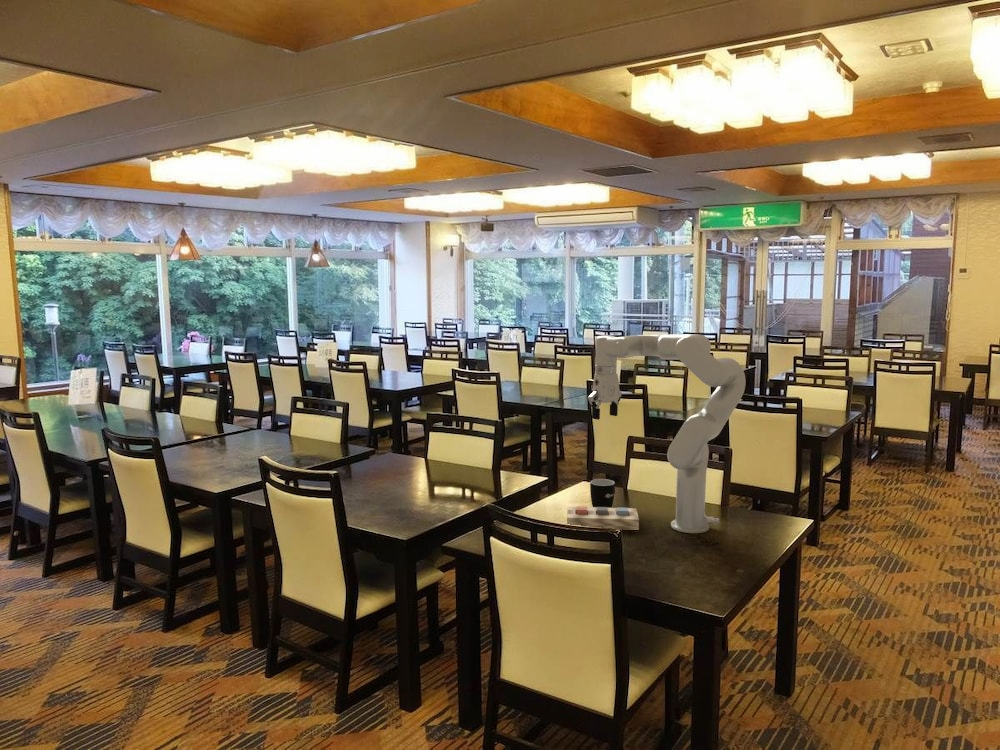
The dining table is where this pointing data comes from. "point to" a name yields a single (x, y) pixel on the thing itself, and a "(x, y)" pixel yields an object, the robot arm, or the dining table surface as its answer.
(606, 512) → the button grey
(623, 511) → the button blue
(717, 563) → the dining table surface
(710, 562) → the dining table surface
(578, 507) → the button red
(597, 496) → the mug
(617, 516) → the panel
